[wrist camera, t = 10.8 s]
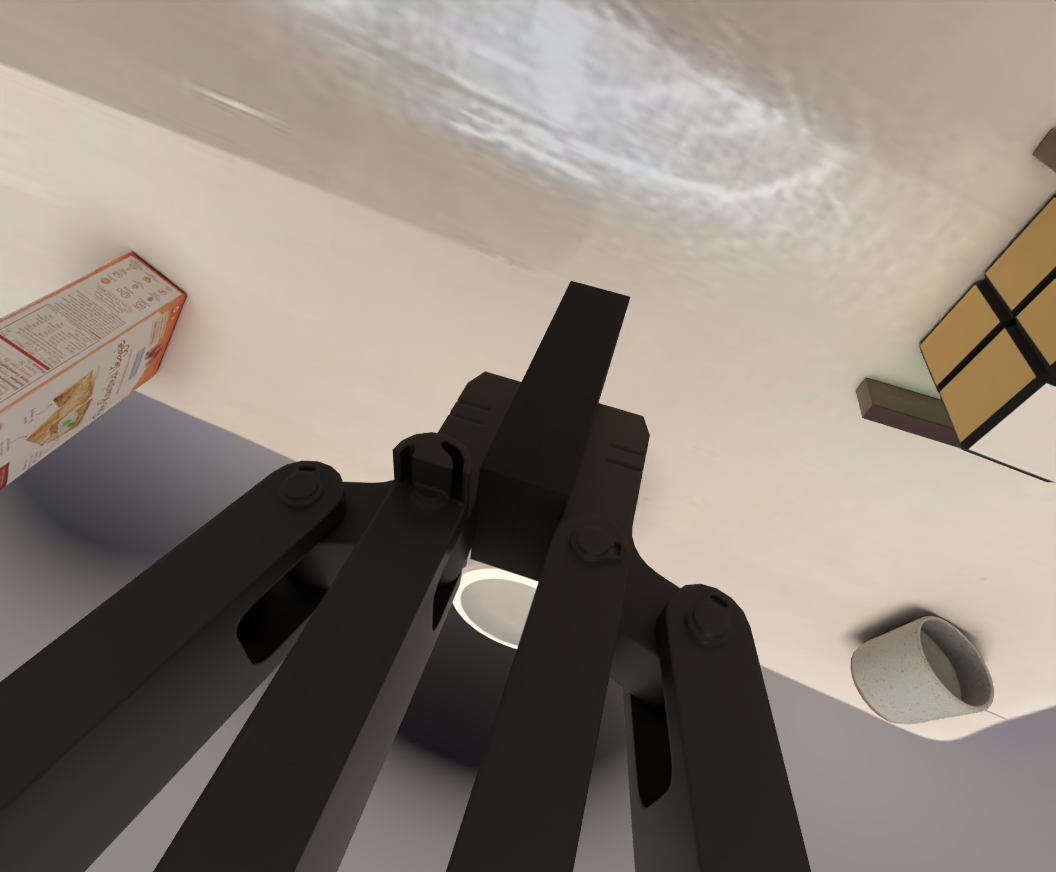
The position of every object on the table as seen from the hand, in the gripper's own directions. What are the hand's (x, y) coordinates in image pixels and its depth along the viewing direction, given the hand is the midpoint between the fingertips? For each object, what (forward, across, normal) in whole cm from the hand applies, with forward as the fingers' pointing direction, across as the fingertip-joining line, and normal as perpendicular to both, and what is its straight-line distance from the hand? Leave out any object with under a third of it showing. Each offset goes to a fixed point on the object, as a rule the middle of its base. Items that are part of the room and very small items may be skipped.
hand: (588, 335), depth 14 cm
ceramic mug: (+22, +36, -37) cm, 56 cm away
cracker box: (+23, -43, -27) cm, 56 cm away
